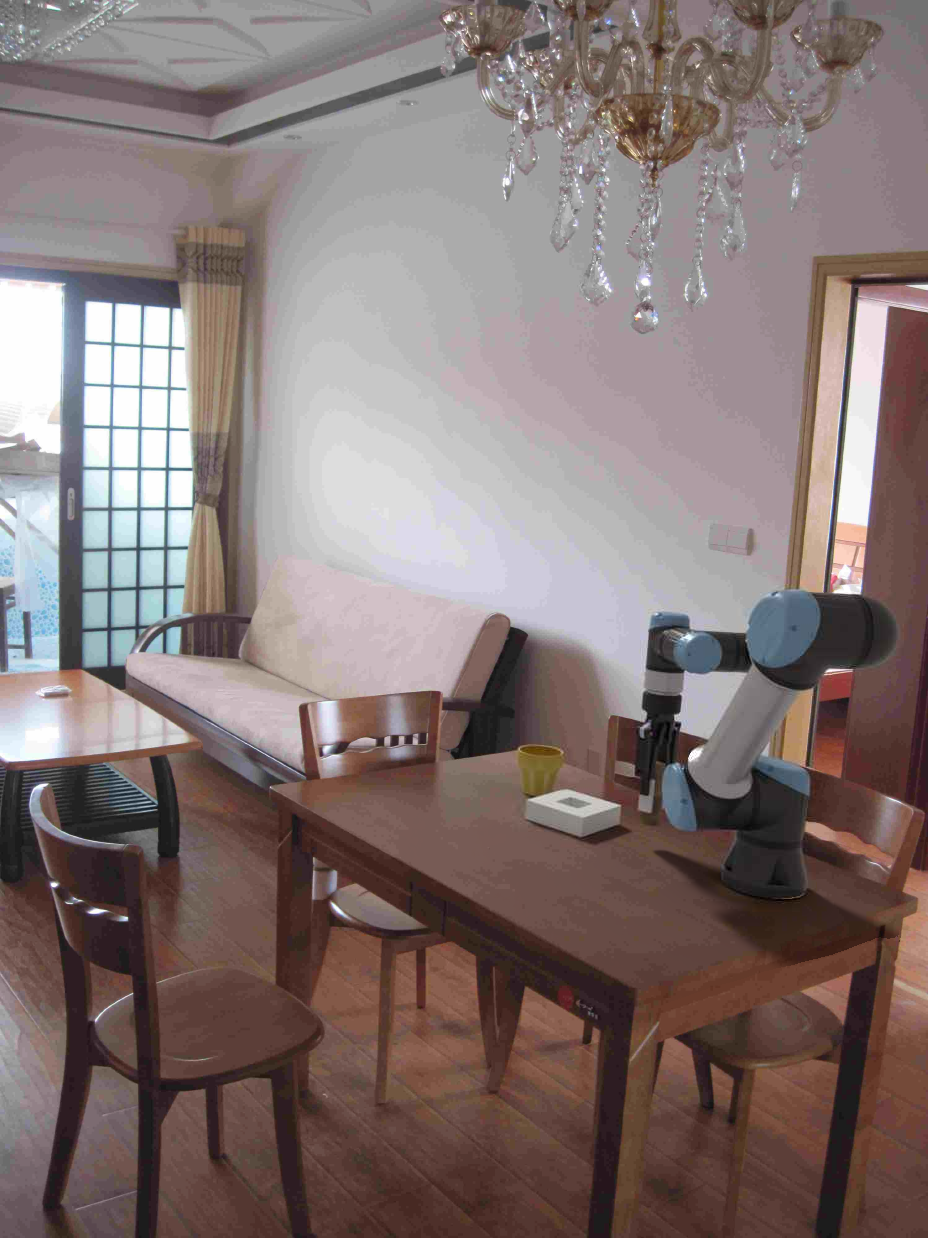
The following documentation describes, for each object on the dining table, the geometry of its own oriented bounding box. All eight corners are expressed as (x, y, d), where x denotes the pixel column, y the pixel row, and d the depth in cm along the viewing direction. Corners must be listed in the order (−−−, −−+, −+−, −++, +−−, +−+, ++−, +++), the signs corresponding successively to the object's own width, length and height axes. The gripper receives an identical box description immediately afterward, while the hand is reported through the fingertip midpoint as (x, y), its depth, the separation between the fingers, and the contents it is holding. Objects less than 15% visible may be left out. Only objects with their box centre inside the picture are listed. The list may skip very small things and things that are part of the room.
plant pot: (505, 787, 258) (509, 744, 257) (545, 785, 262) (550, 743, 261) (527, 800, 249) (531, 757, 247) (568, 798, 253) (573, 755, 252)
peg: (663, 823, 226) (669, 763, 225) (653, 827, 223) (659, 766, 222) (646, 818, 228) (651, 759, 227) (635, 822, 225) (641, 762, 224)
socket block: (619, 824, 238) (621, 805, 237) (580, 837, 227) (583, 817, 227) (563, 806, 247) (565, 788, 246) (524, 818, 236) (526, 799, 235)
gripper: (667, 685, 232) (656, 798, 234) (622, 692, 219) (611, 811, 221) (701, 691, 227) (689, 807, 229) (657, 699, 214) (644, 821, 216)
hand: (650, 809), depth 225 cm, fingers closed on peg, 4 cm apart
